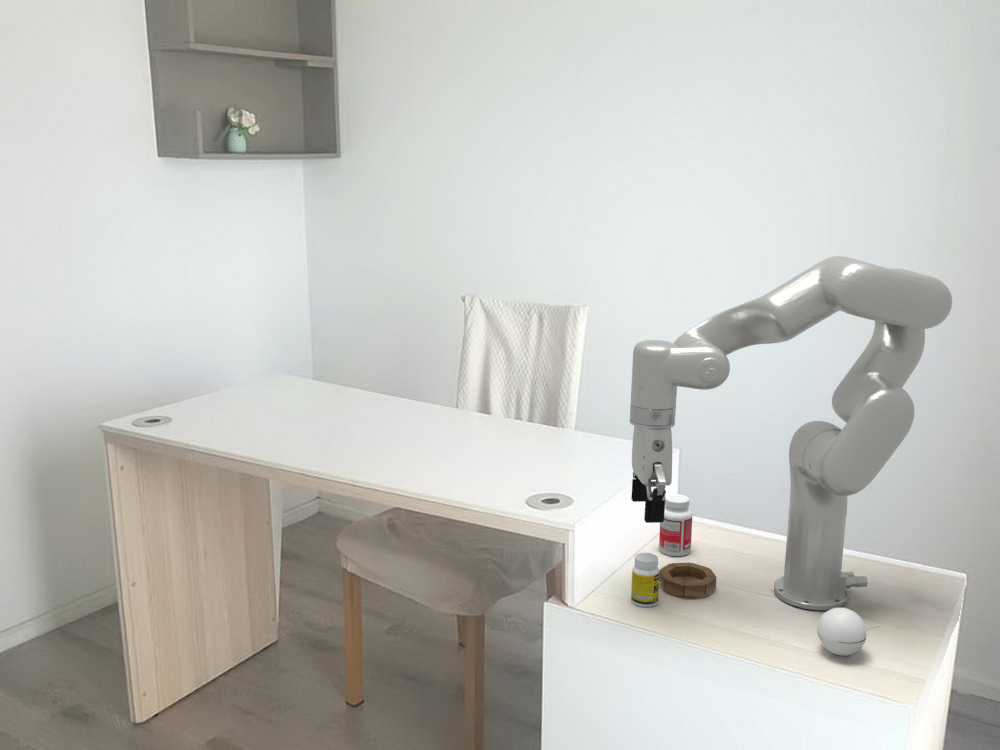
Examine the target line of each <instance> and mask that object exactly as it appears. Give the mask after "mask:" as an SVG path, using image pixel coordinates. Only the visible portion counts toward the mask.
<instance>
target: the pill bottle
mask: <svg viewBox="0 0 1000 750" xmlns="http://www.w3.org/2000/svg"><path fill="white" fill-rule="evenodd" d="M689 506H690V498H689V496H687V495H685V494H679V493H673V494H672V493H671V494H667V495H665V511H664V521H663V522H660V523H659V541H658V542H659V543H658V544H659V545H658V549H659V550H660V552H661V553H662V554H663V555H666V556H670V557H683V556H687V555H689V554H690V553H691V551H692V550H691V549H692V532H693V531H692V530H693V511H692V509H690V508H689Z"/></svg>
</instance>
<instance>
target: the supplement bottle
mask: <svg viewBox="0 0 1000 750" xmlns="http://www.w3.org/2000/svg"><path fill="white" fill-rule="evenodd" d="M658 565H659V557H658V556H657V555H656V554H654V553H652V552H651V553H650V552H639V553H637V554H635V556H634V565H633V566H632V570H631V588H630V589H631V590H630V591H631V592H630V593H631V594H630V600H631V602H632V604H633V605H634V606H637V607H640V608H641V607H642V608H652V607H655V606H657V605H658V603H659V591H660V590H659V589H660V582H659V573H660V572H659V570H660V568H659V566H658Z"/></svg>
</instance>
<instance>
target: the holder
mask: <svg viewBox="0 0 1000 750" xmlns="http://www.w3.org/2000/svg"><path fill="white" fill-rule="evenodd" d="M659 572H660V573H659V586H660V589H661V590H662V591H663V592H664V593H666V594H667V595H670V596H672V597H675V598H679V599H685V600H699V599H704V598H708V597H709V596H712V594H713V593H714V591H715V590H716V588H717V575H716V574H715V573H714V571H713V570H712V569H711V568H710V567H707V566H703V565H700V564H698V563H693V562H671V563H669V564H668V563H667V565H665V566H664V567H661V568H659Z"/></svg>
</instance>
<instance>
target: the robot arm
mask: <svg viewBox="0 0 1000 750" xmlns="http://www.w3.org/2000/svg"><path fill="white" fill-rule="evenodd" d="M952 306H953V297H952V292H951V291H950V289H949V287H948V286H947V285H946V284H945V282H943V281H942V280H940V279H939V278H936V277H935V276H934V277H933V276H931V275H926V274H923V273H919V272H916V271H912V270H908V269H904V268H888V267H884V266H881V265H877V264H872V263H869V262H866V261H862V260H859V259H855V258H851V257H847V256H842V255H835V256H830V257H828V258H825V259H823V260H821V261H819V262H817V263H815V264H814V265H812V266H810V267H809V268H807V269H806V270H804V271H802V272H801V273H799V274H797V275H795V276H794V277H792V278H790V279H789V280H787V281H785V282H784V283H783V284H780V285H779V286H778V287H776V288H774V289H772V290H771V291H769V292H767V293H766V294H764V295H762V296H760V297H757V298H754V299H752V300H749V301H746V302H744V303H741V304H740V305H737V306H736V305H735V306H734V307H731V308H728V309H727V310H724V311H721V312H719V313H716V314H714V315H713V316H710V317H709V318H707V319H706V320H704V321H701V322H700V323H698V324H697V325H695V326H693V327H692V328H690V329H688V330H687V331H685V332H684V333H682V334H681V335H680V336H678V338H676V340H674V342H670V341H667V340H660V339H648V340H642V341H639V342H637V343H636V344H635V345H634V348H633V351H632V371H631V385H630V386H631V388H630V389H631V390H630V407H629V408H630V409H629V424H630V425H632V426H634V427H633V435H632V447H631V466H632V467H631V468H632V480H631V497H630V499H631V500H632V502H636V503H637V502H639V503H640V502H645V504H644V517H643V518H644V522H645V523H647V524H648V523H650V524H651V523H652V524H653V523H654V524H657V523H659V524H660V522H663V521H664V511H665V497H666V493H667V492H666V486H668V487H669V486H670V485H671V484H672V482H673V480H672V479H673V436H672V428H673V427H674V426H675V425H676V411H677V410H676V409H677V396H678V395H677V394H678V387H681V388H689V389H694V390H700V391H701V390H702V391H705V390H707V391H708V390H714V389H716V388H718V387H720V386H722V385H723V384H724V383H725V382H726V381H727V379H728V377H729V375H730V371H731V364H730V360H729V358H728V355H730V354H732V353H734V352H736V351H738V350H741V349H744V348H746V347H751V346H755V345H757V346H758V345H768V344H769V345H770V344H771V345H773V344H778V343H779V344H780V343H784V342H788V341H791V340H793V339H794V338H796V337H797V336H799V335H801V334H803V333H804V332H806V331H807V330H809V329H810V328H812V327H814V326H815V325H818V324H819V323H821V322H822V321H824V320H825V319H828V318H829V317H831V316H832V315H835V314H836V313H837V312H839V311H840V312H843V313H845V314H848V315H851V316H854V317H857V318H858V317H859V318H862V319H865V320H869V321H870V320H871V321H874V329H873V332H872V336H871V338H870V340H869V342H868V343H867V345H866V346H865V348H864V350H863V351H862V353H861V354H860V355H859V357H858V358H857V359H856V361H855V362H854V364H853V365H852V367H851V368H849V370H848V371H847V373H846V374H845V375H844V377H843V378H842V379H841V381H840V383H839V384H838V385H837V387H836V388H835V390H834V391H833V394H832V398H831V406H832V409H833V411H834V413H835V415H837V416H838V417H839V418H840V419H841V420H842V421H843V422H845V424H844V426H843V427H842V428H840V427H839V426H837V425H835V424H833V423H831V422H828V421H823V420H812V421H808V422H806V423H803V424H802V425H800V427H798V429H796V431H795V432H794V434H793V436H792V437H791V440H790V443H789V451H788V462H789V463H788V464H789V474H790V494H789V506H788V507H789V508H788V519H787V531H786V546H785V556H784V557H785V558H784V559H785V560H784V573H783V576H781V577H779V578H777V580H775V582H774V584H773V591H774V594H775V595H776V596H777V597H778V599H780V600H781V601H783V602H784V603H787V604H789V605H791V606H793V607H796V608H801V609H805V610H811V611H829V610H830V609H833V608H843V607H845V605H846V604H847V603H848V601H849V592H848V590H850V589H851V588H866V587H868V578H867V576H866V575H855V574H854V572H853V571H844V572H842V569H843V568H842V567H843V566H842V565H843V556H844V555H843V554H844V545H845V532H846V522H847V515H848V497H849V496H852V495H856V494H858V493H860V492H861V491H863V490H865V488H867V487H868V486H869V485H870V484H871V482H873V481H874V479H875V478H876V477H877V476H878V474H879V473H880V472H881V470H882V469H883V468H884V467H885V465H886V464H887V463H888V461H889V460H890V458H891V457H892V455H894V453H895V452H896V450H897V449H898V448H899V447H900V446H901V444H902V443H903V441H904V440H905V438H906V437H907V436H908V434H909V433H910V431H911V428H912V425H913V423H914V418H915V410H916V409H915V405H914V404H915V403H914V401H913V399H912V397H911V396H910V394H909V393H908V392H907V391H906V390H905V389H904V388H903V387H904V385H906V383H907V381H908V380H909V378H910V376H911V375H912V374H913V372H914V371H915V369H916V367H918V364H919V362H920V360H921V358H922V357H923V353H924V350H925V343H926V330H927V329H931V328H932V329H933V328H935V327H937V326H940V324H942V323H943V322H944V321H945V320H946V319H947V318H948V316H949V315H950V312H951V310H952ZM652 488H653V489H652Z"/></svg>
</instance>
